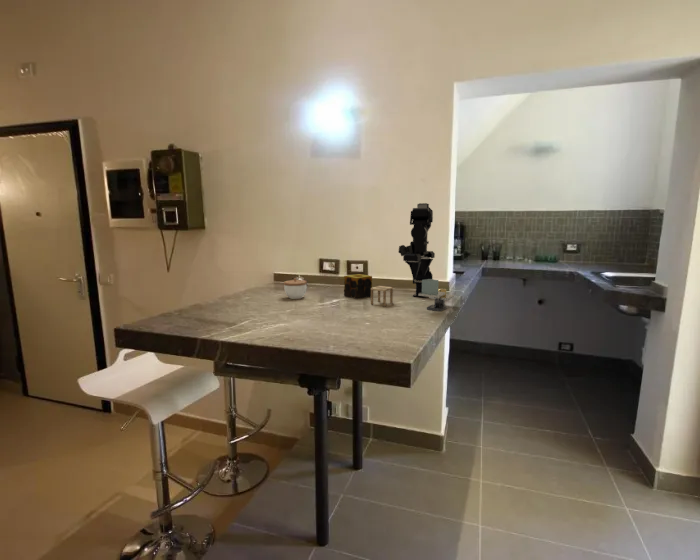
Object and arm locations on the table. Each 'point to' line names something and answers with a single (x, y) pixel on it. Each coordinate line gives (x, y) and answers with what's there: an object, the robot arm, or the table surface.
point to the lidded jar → (295, 288)
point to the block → (430, 286)
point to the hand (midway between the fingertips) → (419, 276)
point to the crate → (384, 289)
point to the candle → (357, 286)
